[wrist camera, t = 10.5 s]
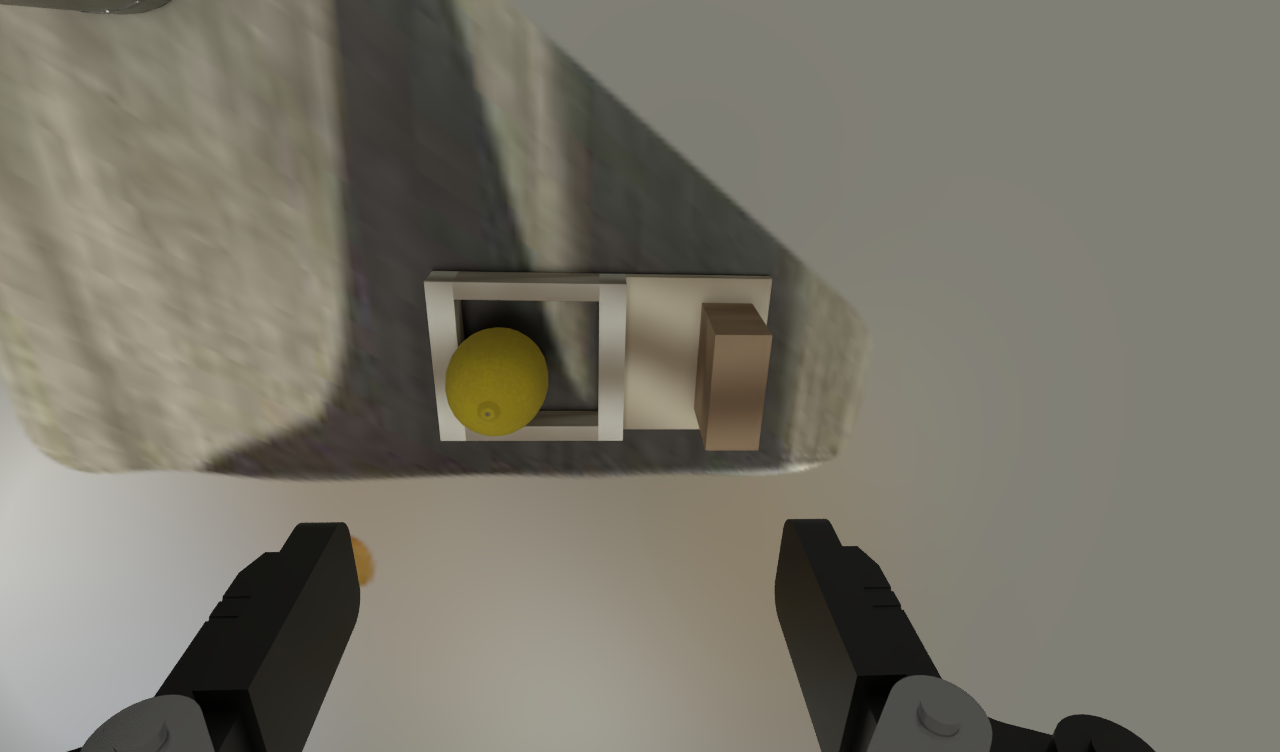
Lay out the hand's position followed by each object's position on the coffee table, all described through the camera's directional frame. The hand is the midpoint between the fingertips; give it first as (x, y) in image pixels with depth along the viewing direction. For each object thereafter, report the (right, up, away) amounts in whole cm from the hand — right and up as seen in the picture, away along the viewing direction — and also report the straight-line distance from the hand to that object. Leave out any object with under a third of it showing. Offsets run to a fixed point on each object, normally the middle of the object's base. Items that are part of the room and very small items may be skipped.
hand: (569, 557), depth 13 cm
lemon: (-7, +5, +29) cm, 30 cm away
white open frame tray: (0, +5, +29) cm, 29 cm away
